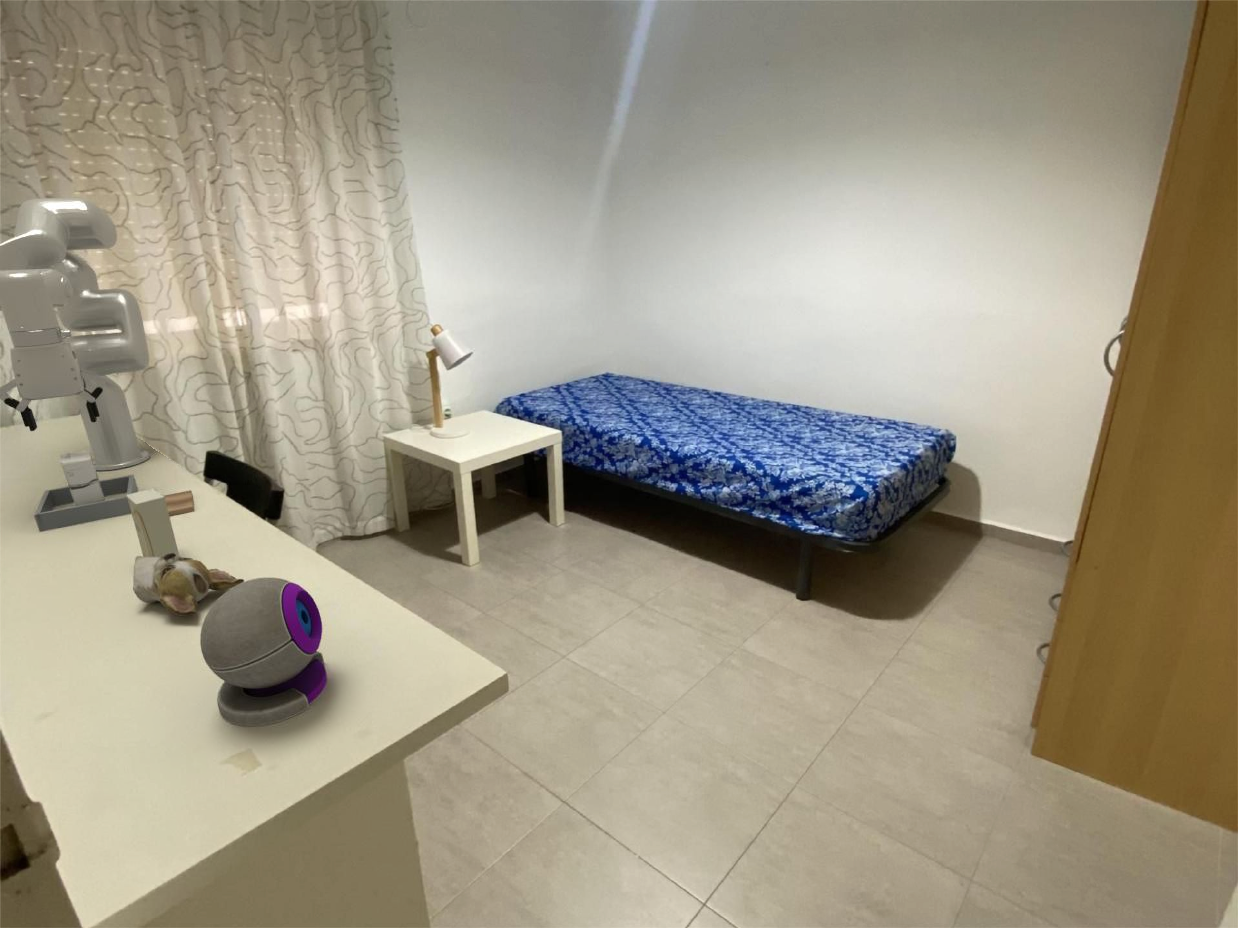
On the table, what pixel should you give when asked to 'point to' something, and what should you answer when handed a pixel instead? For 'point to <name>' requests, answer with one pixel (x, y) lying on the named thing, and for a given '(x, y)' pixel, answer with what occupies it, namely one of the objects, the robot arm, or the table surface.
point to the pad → (179, 503)
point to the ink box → (82, 477)
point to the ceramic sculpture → (177, 582)
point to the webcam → (264, 651)
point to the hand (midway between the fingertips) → (64, 425)
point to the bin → (86, 512)
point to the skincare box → (152, 523)
